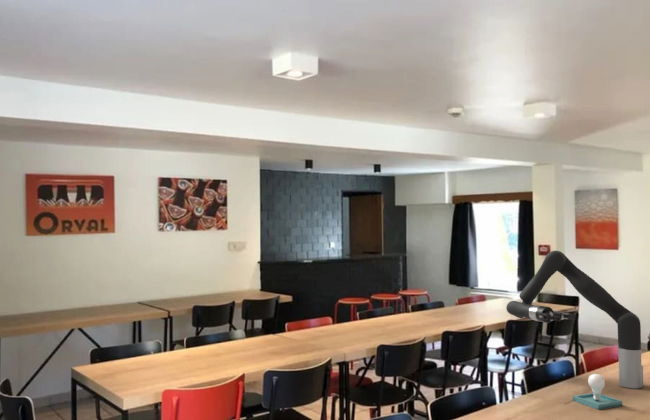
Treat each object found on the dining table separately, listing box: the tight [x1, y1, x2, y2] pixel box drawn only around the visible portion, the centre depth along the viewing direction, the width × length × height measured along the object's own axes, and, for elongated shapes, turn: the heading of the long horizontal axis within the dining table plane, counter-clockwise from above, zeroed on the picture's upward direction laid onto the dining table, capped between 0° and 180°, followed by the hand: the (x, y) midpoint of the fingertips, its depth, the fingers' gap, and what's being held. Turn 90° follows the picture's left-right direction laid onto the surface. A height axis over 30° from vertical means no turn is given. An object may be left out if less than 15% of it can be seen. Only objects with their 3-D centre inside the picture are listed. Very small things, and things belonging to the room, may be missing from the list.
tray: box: [572, 392, 623, 410], centre depth 233 cm, size 13×13×2 cm
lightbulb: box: [587, 373, 606, 401], centre depth 233 cm, size 6×6×11 cm
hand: (567, 318), depth 254 cm, fingers open, 8 cm apart
